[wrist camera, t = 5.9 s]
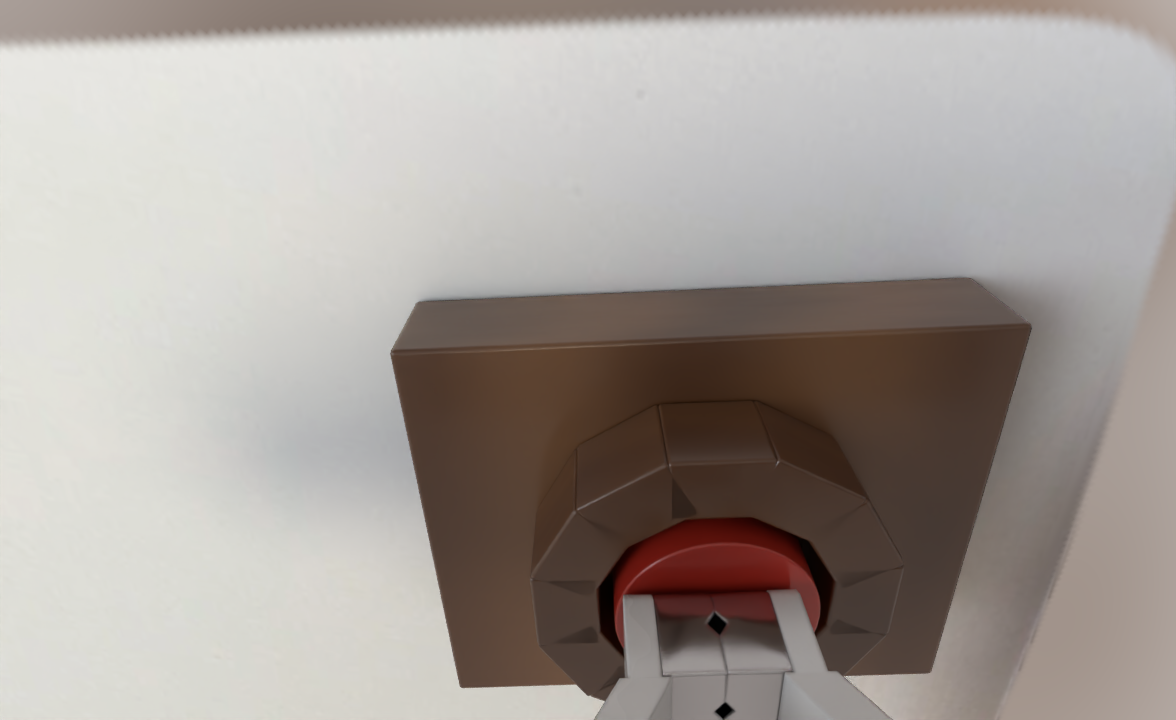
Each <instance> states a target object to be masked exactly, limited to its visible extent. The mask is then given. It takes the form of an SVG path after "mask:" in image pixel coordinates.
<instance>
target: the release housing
mask: <svg viewBox="0 0 1176 720" xmlns="http://www.w3.org/2000/svg"><path fill="white" fill-rule="evenodd" d="M1031 329H1032V328H1031V324H1030V323H1029V322H1028V321H1026V320H1025V319H1024V318H1022V317H1021V316H1020V315H1018V314H1017V313H1016V312H1014V311H1013V310H1012V309H1011V308H1009V307H1008V306H1007V305H1005V304H1004V303H1003V302H1001V301H1000V300H999V299H997V298H996V297H995V296H994V295H992V294H991V293H990V292H988V291H987V290H986V289H984V288H983V287H982V286H980V285H979V284H978V283H976V282H975V281H974V280H973V279H970V278H955V279H932V280H909V281H886V282H863V283H840V284H817V285H794V286H771V287H748V288H725V289H702V290H679V291H656V292H633V293H610V294H587V295H564V296H541V297H518V298H495V299H472V300H449V301H426V302H418V303H416V305H415V307H414V309H413V311H412V312H411V314H410V316H409V318H408V320H407V322H406V324H405V326H404V327H403V329H402V331H401V333H400V335H399V337H398V339H397V341H396V342H395V344H394V346H393V348H392V350H391V353H390V355H391V360H392V364H393V369H394V374H395V379H396V383H397V388H398V393H399V398H400V403H401V407H402V412H403V417H404V422H405V427H406V431H407V436H408V441H409V446H410V450H411V455H412V460H413V465H414V470H415V474H416V479H417V484H418V489H419V494H420V498H421V503H422V508H423V513H424V517H425V522H426V527H427V532H428V537H429V541H430V546H431V551H432V556H433V560H434V565H435V570H436V575H437V580H438V584H439V589H440V594H441V599H442V604H443V608H444V613H445V618H446V623H447V627H448V632H449V637H450V642H451V647H452V651H453V656H454V661H455V666H456V671H457V675H458V680H459V685H460V687H461V688H482V687H513V686H545V685H577V686H578V687H579V688H580V689H581V690H582V691H583V692H584V693H585V694H586V695H588V696H590V695H591V696H592V697H594V698H597V699H600V700H603V701H606V699H607V698H608V696H609V694H610V693H611V691H612V690H613V688H614V686H615V685H616V683H617V682H618V680H619V678H625V668H624V649H623V647H622V645H621V643H620V641H619V639H618V636H617V633H616V629H615V622H614V599H613V576H612V569H613V567H614V566H615V565H616V563H617V562H618V560H619V559H620V558H621V556H622V555H623V554H624V552H625V551H626V549H627V548H628V547H630V546H632V545H634V544H636V543H639V542H641V541H643V540H645V539H647V538H649V537H651V536H653V535H655V534H658V533H660V532H662V531H664V530H666V529H668V528H670V527H672V526H675V525H677V524H679V523H681V522H683V521H685V520H694V519H721V518H748V517H753V518H755V519H758V520H760V521H762V522H765V523H767V524H769V525H772V526H774V527H777V528H779V529H781V530H784V531H786V532H788V533H791V534H793V535H796V536H797V537H798V540H799V543H800V545H801V548H802V551H803V553H804V556H805V558H806V561H807V564H808V566H809V569H810V572H811V574H812V577H813V579H814V582H815V585H816V587H817V590H818V594H819V597H820V605H821V606H820V617H819V621H818V625H817V628H816V630H815V632H814V633H815V636H816V639H817V642H818V644H819V647H820V650H821V652H822V655H823V658H824V661H825V663H826V666H827V669H828V671H838V672H839V673H840V674H841V675H842V676H843V677H844V676H861V675H893V674H924V673H930V672H931V671H932V667H933V664H934V660H935V657H936V653H937V650H938V647H939V643H940V640H941V636H942V633H943V630H944V626H945V623H946V619H947V616H948V612H949V609H950V606H951V602H952V599H953V595H954V592H955V589H956V585H957V582H958V578H959V575H960V571H961V568H962V565H963V561H964V558H965V554H966V551H967V548H968V544H969V541H970V537H971V534H972V530H973V527H974V524H975V520H976V517H977V513H978V510H979V507H980V503H981V500H982V496H983V493H984V489H985V486H986V483H987V479H988V476H989V472H990V469H991V466H992V462H993V459H994V455H995V452H996V449H997V445H998V442H999V438H1000V435H1001V431H1002V428H1003V425H1004V421H1005V418H1006V414H1007V411H1008V408H1009V404H1010V401H1011V397H1012V394H1013V390H1014V387H1015V384H1016V380H1017V377H1018V373H1019V370H1020V367H1021V363H1022V360H1023V356H1024V353H1025V349H1026V346H1027V343H1028V339H1029V336H1030V332H1031Z"/></svg>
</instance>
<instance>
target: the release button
mask: <svg viewBox="0 0 1176 720" xmlns="http://www.w3.org/2000/svg"><path fill="white" fill-rule="evenodd" d="M612 576H613V599H614V622H615V629H616V633H617V636H618V639H619V641H620V643H621V645H622V647H623V649H624V630H623V595H639V594H652V595H653V594H697V593H711V592H732V591H753V590H765V591H767V590H784V589H796V590H797V591H798V592H799V593H800V595H801V598H802V600H803V603H804V606H805V609H806V611H807V614H808V617H809V620H810V622H811V625H812V628H813V631H814V632H815V630H816V628H817V625H818V621H819V617H820V606H821V605H820V597H819V594H818V590H817V587H816V585H815V582H814V579H813V577H812V574H811V572H810V569H809V566H808V564H807V561H806V558H805V556H804V553H803V551H802V548H801V545H800V543H799V540H798V537H797V536H796V535H793V534H791V533H788V532H786V531H784V530H781V529H779V528H777V527H774V526H772V525H769V524H767V523H765V522H762V521H760V520H758V519H755V518H753V517H748V518H721V519H694V520H685V521H683V522H681V523H679V524H677V525H675V526H672V527H670V528H668V529H666V530H664V531H662V532H660V533H658V534H655V535H653V536H651V537H649V538H647V539H645V540H643V541H641V542H639V543H636V544H634V545H632V546H630V547H628V548H627V549H626V551H625V552H624V554H623V555H622V556H621V558H620V559H619V560H618V562H617V563H616V565H615V566H614V567H613V569H612Z"/></svg>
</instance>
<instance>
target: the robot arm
mask: <svg viewBox="0 0 1176 720" xmlns="http://www.w3.org/2000/svg"><path fill="white" fill-rule="evenodd" d="M623 630H624V668H625V678H619V680H618V682H617V683H616V685H615V686H614V688H613V690H612V691H611V693H610V694H609V696H608V698H607V699H606V701H605V702H604V704H603V706H602V707H601V709H600V711H599V712H598V714H597V715H596V717H595V719H594V720H893V719H891V718H890V717H889V716H888V715H887V714H886V713H885V712H883V711H882V710H881V709H880V708H879V707H878V706H877V705H875V704H874V703H873V702H872V701H871V700H870V699H869V698H867V697H866V696H865V695H864V694H863V693H862V692H861V691H859V690H858V689H857V688H856V687H855V686H854V685H853V684H851V683H850V682H849V681H848V680H847V679H846V678H845V677H843V676H842V675H841V674H840V673H839V672H838V671H828V669H827V666H826V663H825V661H824V658H823V655H822V652H821V650H820V647H819V644H818V642H817V639H816V636H815V633H814V631H813V628H812V625H811V622H810V620H809V617H808V614H807V611H806V609H805V606H804V603H803V600H802V598H801V595H800V593H799V592H798V591H797V590H796V589H784V590H767V591H765V590H753V591H732V592H711V593H697V594H653V595H652V594H639V595H623Z"/></svg>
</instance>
